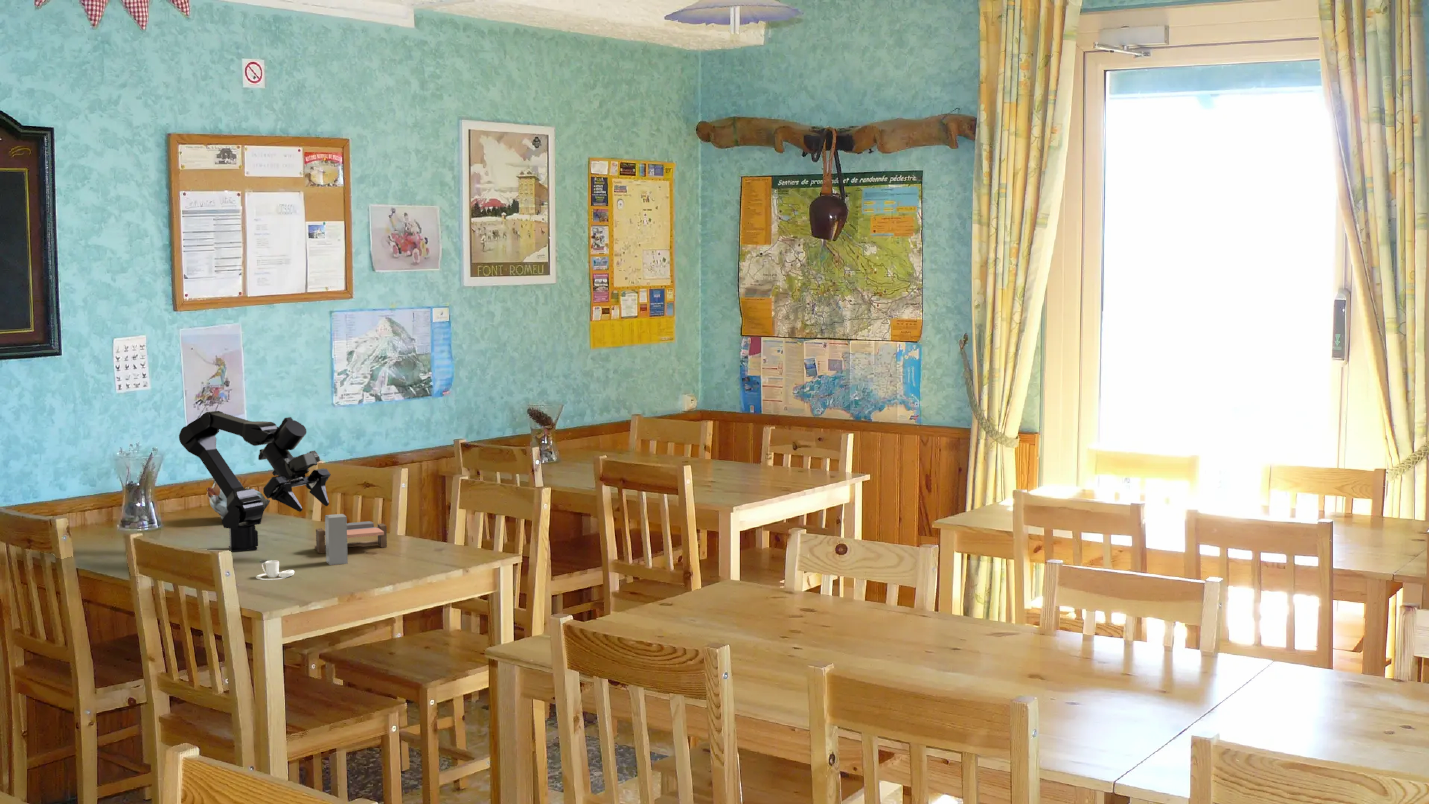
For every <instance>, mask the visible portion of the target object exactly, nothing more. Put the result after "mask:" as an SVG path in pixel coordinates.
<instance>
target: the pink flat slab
mask: <svg viewBox="0 0 1429 804" xmlns="http://www.w3.org/2000/svg"><path fill="white" fill-rule="evenodd" d="M378 535H384V532H383V531H382V530H381V529H379V528H378V526H375V523H374V522H373V521H369V520H368V521H358V522H357V521H356V522H348V523H347V539H352V538H362V537H374V536H377V537H378Z"/></svg>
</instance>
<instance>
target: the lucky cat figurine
mask: <svg viewBox="0 0 1429 804" xmlns="http://www.w3.org/2000/svg"><path fill="white" fill-rule="evenodd" d="M238 481H239V482H240V484H241V485H242V486H243V483H241V481H240V480H239V479H238ZM243 488H245V489H246V490H248V489H252V488H251V487H249V486H246V487H244V486H243ZM255 490H256V489H255ZM206 491H207V492H206V498H207V500H208V501H209V505H210V507H211V508H212V510H213V511H214V512H216V513H217V514H218V515H219V516H220V518H221V520H222V519H223V518H224V517H225V515H226V514H227V513H228V510H227V498H226V496H225V495H224V493H223V492H222V490H221V489H220V487H219V486H218V484H217V483H216V481H215V480H214V479H213V484H212V486H211V487H206ZM256 492H257V494H258V496H259V497H260V498H261V499H262V500H261V501H262V503H263V505H264V511H265V509H267V507H268V505H269V504H270V502H271V500H270V499H269V498H268V499H267V498H266V497H265V495H263V494H262V492H260V491H258V490H256Z"/></svg>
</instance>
